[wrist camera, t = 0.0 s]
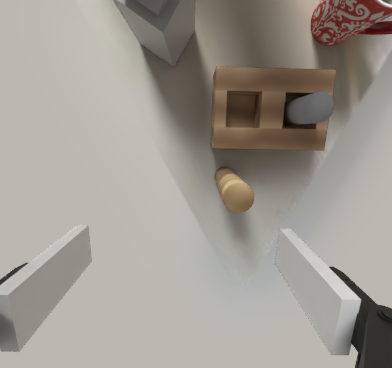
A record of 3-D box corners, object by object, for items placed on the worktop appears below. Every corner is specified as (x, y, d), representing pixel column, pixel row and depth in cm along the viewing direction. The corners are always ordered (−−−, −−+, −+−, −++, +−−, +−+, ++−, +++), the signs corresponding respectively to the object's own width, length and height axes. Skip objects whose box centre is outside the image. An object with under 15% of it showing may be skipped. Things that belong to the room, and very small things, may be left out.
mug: (293, 30, 37) (347, -26, 24) (328, -23, 35) (407, -115, 22) (349, 74, 39) (429, 45, 25) (385, 25, 37) (491, -34, 24)
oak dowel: (214, 167, 42) (224, 183, 29) (235, 167, 42) (255, 184, 29) (214, 187, 43) (223, 212, 29) (234, 187, 43) (252, 213, 29)
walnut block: (213, 76, 38) (216, 66, 33) (315, 79, 39) (336, 69, 33) (210, 145, 41) (213, 148, 35) (305, 147, 41) (324, 150, 36)
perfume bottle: (173, 67, 38) (156, 11, 21) (139, 43, 37) (91, -36, 20) (194, 30, 37) (194, -63, 19) (160, 4, 36) (127, -117, 18)
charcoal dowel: (280, 100, 38) (306, 91, 29) (303, 101, 38) (336, 91, 29) (277, 124, 38) (302, 122, 30) (300, 125, 39) (331, 123, 30)
